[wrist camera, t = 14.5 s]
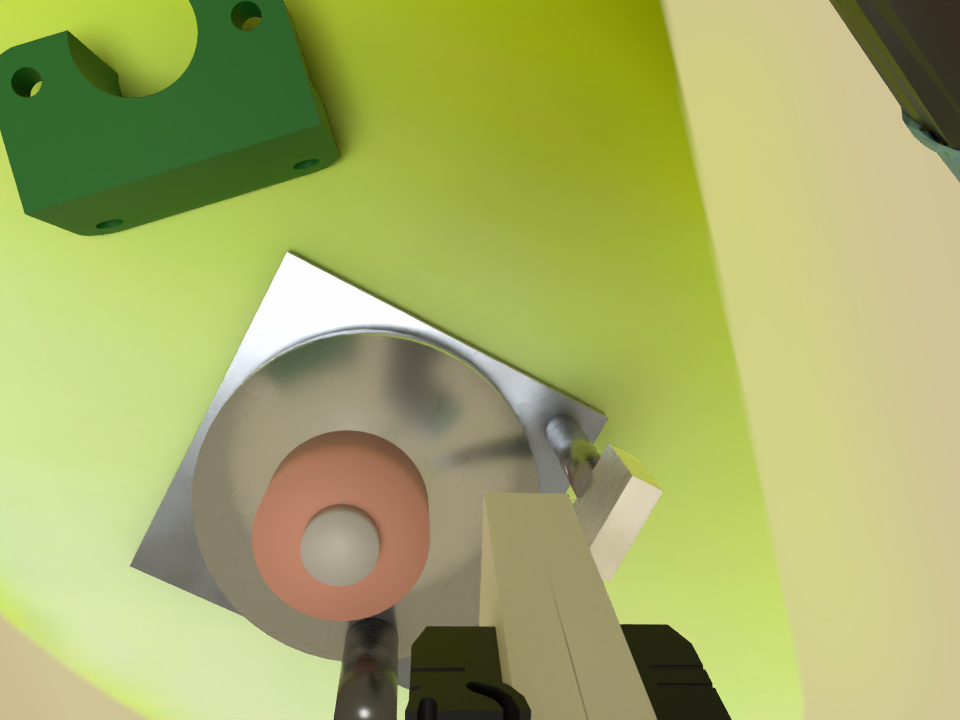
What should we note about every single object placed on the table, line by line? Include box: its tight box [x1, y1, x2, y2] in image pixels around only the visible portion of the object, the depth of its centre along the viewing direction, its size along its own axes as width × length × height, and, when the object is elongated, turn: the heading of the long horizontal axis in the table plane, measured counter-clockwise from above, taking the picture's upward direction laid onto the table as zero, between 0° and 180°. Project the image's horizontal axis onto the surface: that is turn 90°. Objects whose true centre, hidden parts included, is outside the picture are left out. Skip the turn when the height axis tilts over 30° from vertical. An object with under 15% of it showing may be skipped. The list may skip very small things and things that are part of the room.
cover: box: [252, 430, 430, 621], centre depth 37 cm, size 7×7×4 cm
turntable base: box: [130, 251, 663, 690], centre depth 35 cm, size 16×16×12 cm
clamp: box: [0, 0, 339, 236], centre depth 35 cm, size 12×6×9 cm, turn 100°
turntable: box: [192, 329, 539, 720], centre depth 37 cm, size 15×15×8 cm
